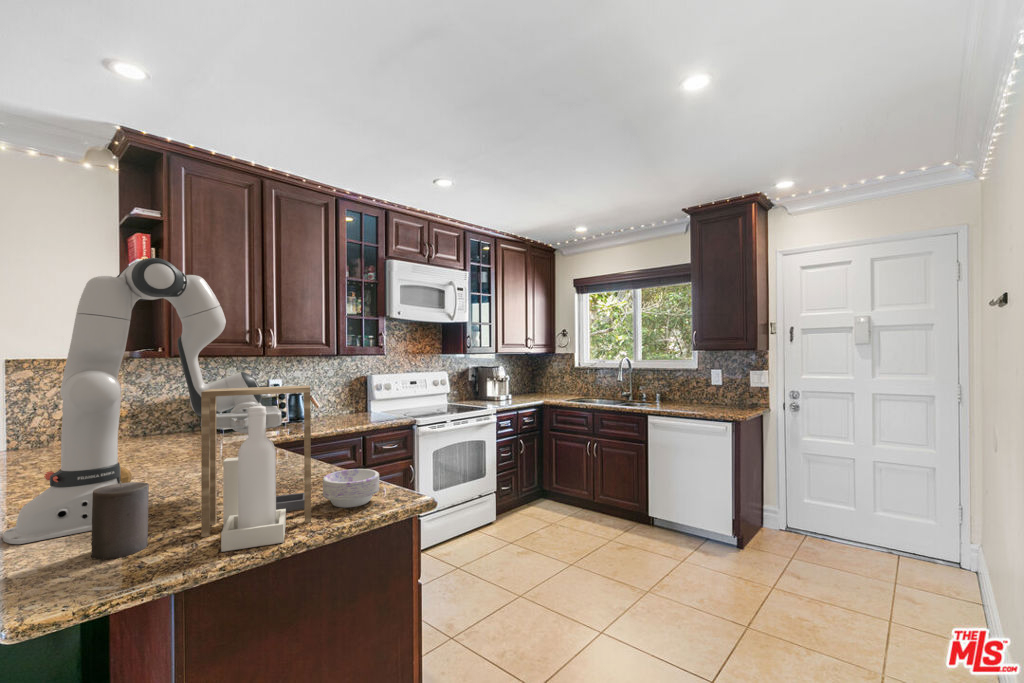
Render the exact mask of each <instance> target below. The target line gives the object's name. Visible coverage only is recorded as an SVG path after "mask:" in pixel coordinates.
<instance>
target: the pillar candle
mask: <svg viewBox="0 0 1024 683" xmlns="http://www.w3.org/2000/svg"><path fill="white" fill-rule="evenodd" d="M149 486H150V484H149V483H148V482H142V481H130V482H129V483H121V481H120V484H113V485H108V486H104V487H100V488H97V489H95V490H94V491H93V499H92V530H91V539H90V540H91V543H90V546H91V555H90V558H92V559H94V560H98V561H99V560H112V559H117V558H123V557H126V556H130V555H132V554H137V553H138V552H141V551H143V550H145V549H146V548H147V547H148V543H149V542H148V540H149V539H148V537H149V494H150V493H149V489H150V488H149Z"/></svg>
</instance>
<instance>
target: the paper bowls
mask: <svg viewBox="0 0 1024 683" xmlns="http://www.w3.org/2000/svg"><path fill="white" fill-rule="evenodd" d="M379 491H380V473H379V472H378V471H376V470H374V469H369V468H352V469H343V470H339V471H338V470H337V471H334V472H331V473H328V474H326V475H324V477H322V496H323V498H325V499H327V500H329V501H330V502H331V504H332V505H333V506H334V507H337V508H343V509H344V508H345V509H346V508H348V509H349V508H356V507H360V506H363V505H366V504H368V503H369V502H370V501H371V500H372V498H373V496H374V495H375V494H377V493H378V492H379Z"/></svg>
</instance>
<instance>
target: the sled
mask: <svg viewBox="0 0 1024 683" xmlns="http://www.w3.org/2000/svg"><path fill="white" fill-rule="evenodd" d="M222 466H223V467H222V469H223V470H222V471H223V472H222V474H223V475H222V478H223V479H222V480H223V481H222V483H223V488H222V490H223V493H222V495H223V496H222V497H223V498H222V499H223V501H222V505H223V506H222V507H223V510H222V511H223V512H222V513H223V514H222V516H223V517H222V518H223V522H222V523H223V524H222V525H223V528H222V531H221V533H220V534H221V535H220V536H221V538H220V539H221V540H220V546H221V547H220V548H221V550H220V552H221V553H222V552H223V553H224V552H229V551H235V550H242V549H248V548H255V547H262V546H269V545H275V544H280V543H281V544H282V543H284V542H285V536H286V535H285V533H286V526H287V524H286V523H287V520H286V519H287V518H286V517H287V514H286V512H287V511H286V509H279V510H276V521H277V524H271V525H264V526H257V527H250V528H243V529H238V456H237V457H235V456H234V457H226V458H225V459H224V460H223V462H222Z"/></svg>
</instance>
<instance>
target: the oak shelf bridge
mask: <svg viewBox="0 0 1024 683" xmlns="http://www.w3.org/2000/svg"><path fill="white" fill-rule="evenodd" d="M298 393H299V394H301V393H303V449H304V450H303V452H304V453H303V459H304V460H303V462H304V463H303V464H304V465H303V466H304V468H303V471H304V473H303V474H304V478H303V479H304V482H303V485H304V490H303V491H304V492H303V493H304V494H305V509H304V523H305V524H306V523H307V524H308V523H312V462H311V461H312V459H311V457H312V456H311V455H312V453H311V452H312V448H311V446H312V445H311V442H312V440H311V439H312V438H311V435H312V434H311V433H312V432H311V428H312V427H311V420H312V419H311V418H312V417H311V385H310V384H309V385H286V386H285V385H284V386H282V385H281V386H262V387H261V386H259V387H255V388H229V389H209V390H205V391H202V392H201V416H200V417H201V418H200V428H201V429H200V432H201V433H200V434H201V437H200V438H201V442H200V443H201V444H200V445H201V449H200V451H201V453H200V455H201V468H200V470H201V471H200V472H201V475H200V476H201V478H200V479H201V480H200V481H201V485H200V486H201V495H200V496H201V497H200V498H201V499H200V500H201V503H200V504H201V509H200V511H201V513H200V514H201V517H200V519H201V520H200V521H201V523H200V524H201V530H200V531H201V532H200V533H201V537H200V538H207V537H210V535H211V526H214V525H217V520H218V519H217V509H218V508H217V429H216V396H235V395H258V394H262V395H276V394H298Z"/></svg>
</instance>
